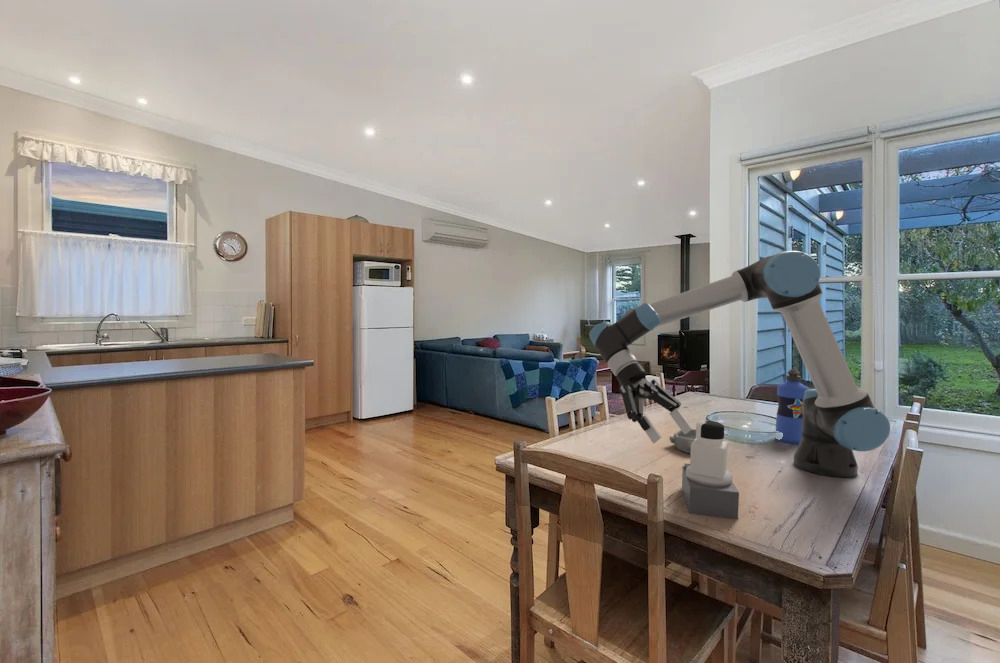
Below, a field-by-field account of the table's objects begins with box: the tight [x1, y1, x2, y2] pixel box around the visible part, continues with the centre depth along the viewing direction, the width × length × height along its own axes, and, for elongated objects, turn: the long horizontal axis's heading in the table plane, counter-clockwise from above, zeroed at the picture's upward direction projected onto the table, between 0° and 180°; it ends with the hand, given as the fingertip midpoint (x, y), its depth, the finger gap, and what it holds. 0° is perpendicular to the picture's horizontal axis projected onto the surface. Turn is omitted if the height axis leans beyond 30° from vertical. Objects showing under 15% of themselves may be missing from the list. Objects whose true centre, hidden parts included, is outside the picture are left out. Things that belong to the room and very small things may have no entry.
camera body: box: [681, 463, 740, 520], centre depth 108 cm, size 10×14×8 cm
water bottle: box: [775, 368, 810, 445], centre depth 158 cm, size 9×9×25 cm
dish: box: [669, 428, 696, 454], centre depth 148 cm, size 14×14×5 cm
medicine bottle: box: [689, 419, 729, 479], centre depth 107 cm, size 7×7×12 cm
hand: (673, 436), depth 115 cm, fingers open, 13 cm apart
